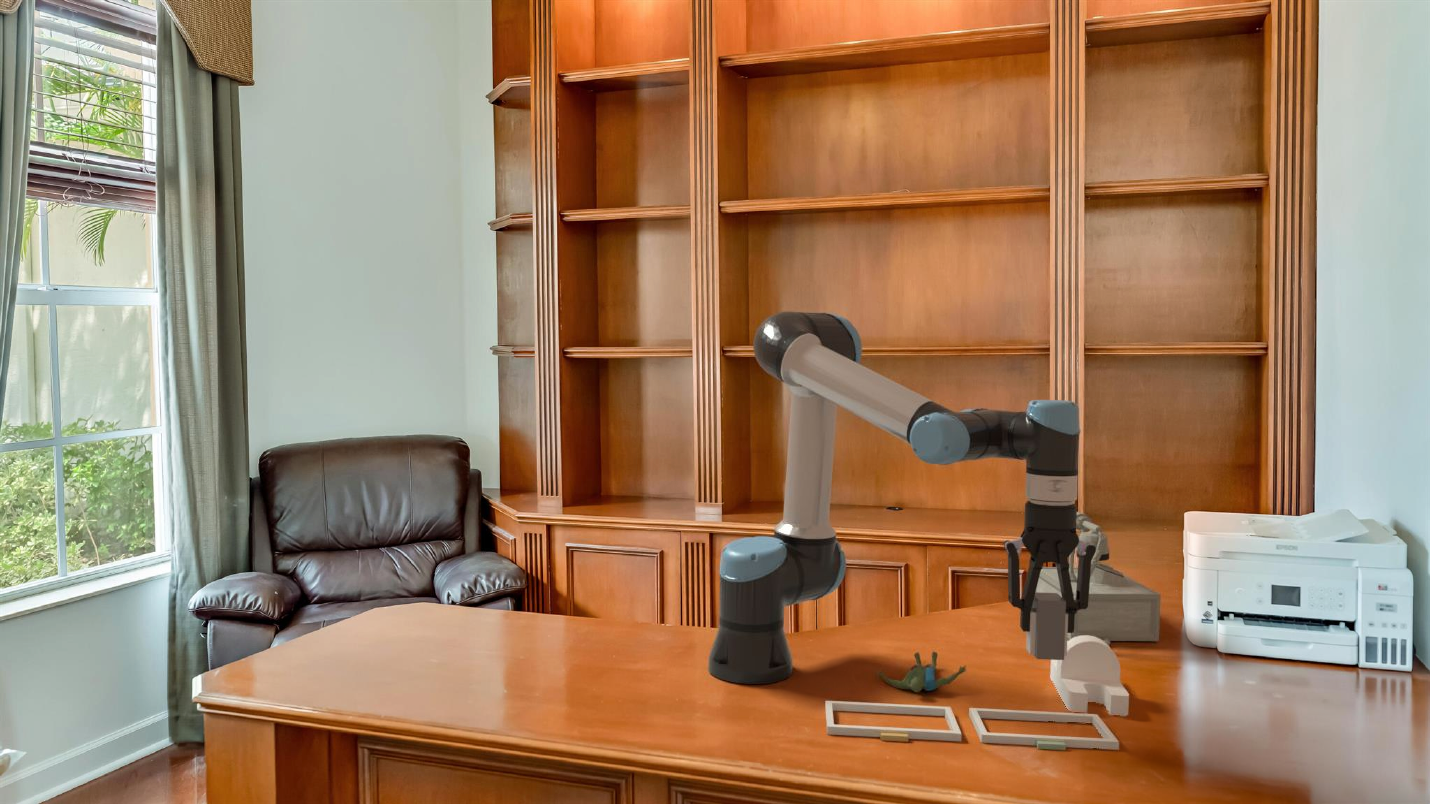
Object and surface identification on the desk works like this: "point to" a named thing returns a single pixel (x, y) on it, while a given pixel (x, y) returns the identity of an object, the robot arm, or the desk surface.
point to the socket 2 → (1042, 740)
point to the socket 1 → (890, 732)
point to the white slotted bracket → (1090, 676)
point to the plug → (1049, 626)
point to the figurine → (922, 676)
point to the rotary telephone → (1107, 595)
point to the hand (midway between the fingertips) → (1046, 652)
